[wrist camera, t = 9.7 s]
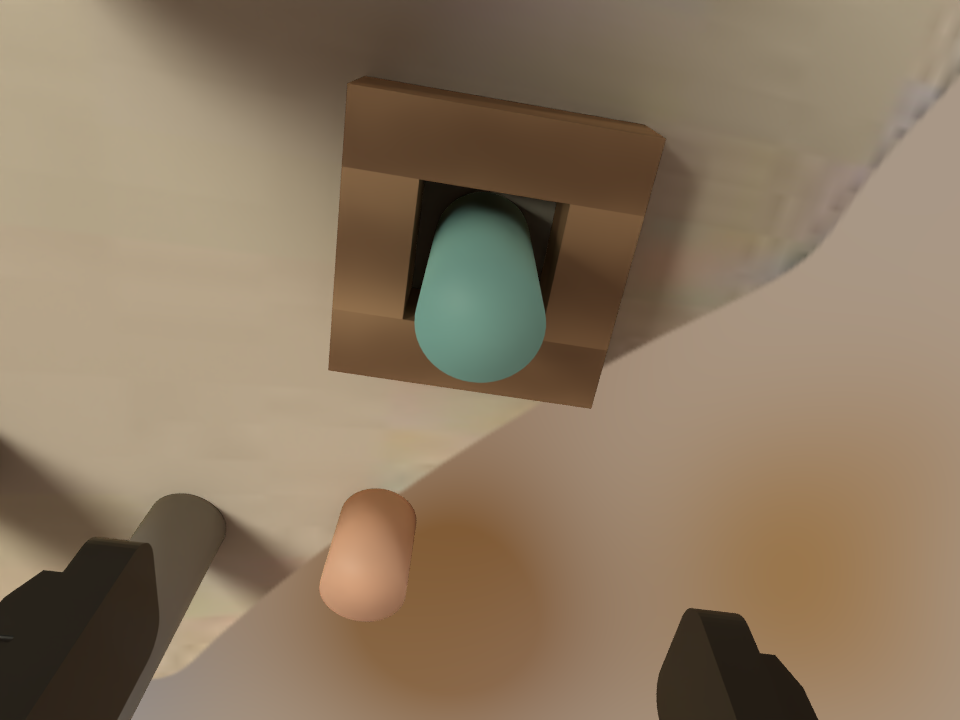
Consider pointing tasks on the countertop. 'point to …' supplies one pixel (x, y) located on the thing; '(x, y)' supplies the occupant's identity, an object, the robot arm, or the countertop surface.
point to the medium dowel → (481, 292)
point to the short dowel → (369, 556)
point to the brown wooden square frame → (499, 168)
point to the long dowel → (175, 568)
